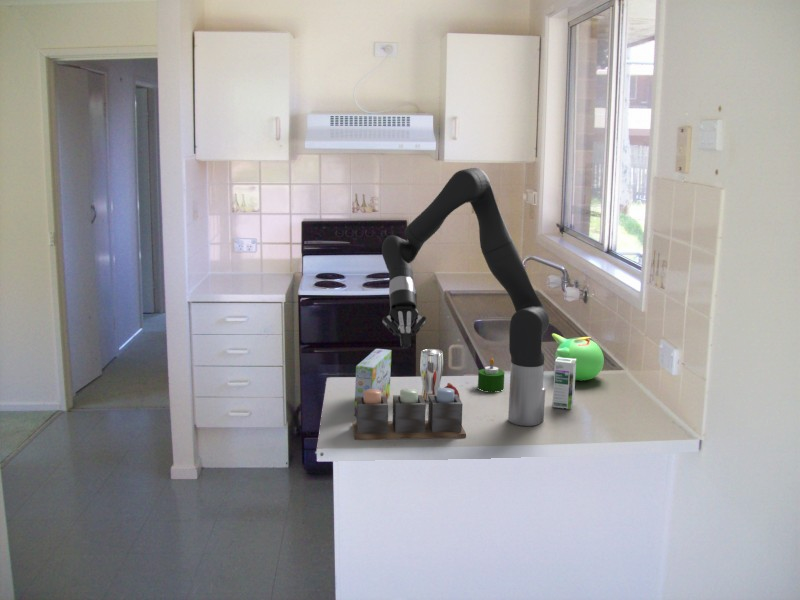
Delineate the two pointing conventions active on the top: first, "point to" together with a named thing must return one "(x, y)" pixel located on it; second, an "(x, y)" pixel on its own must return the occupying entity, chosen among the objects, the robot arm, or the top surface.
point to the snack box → (373, 374)
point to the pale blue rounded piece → (445, 395)
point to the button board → (409, 419)
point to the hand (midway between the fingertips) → (406, 347)
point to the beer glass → (431, 371)
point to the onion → (452, 388)
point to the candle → (491, 378)
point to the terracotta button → (372, 396)
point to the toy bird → (581, 355)
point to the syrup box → (564, 383)
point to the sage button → (408, 395)
